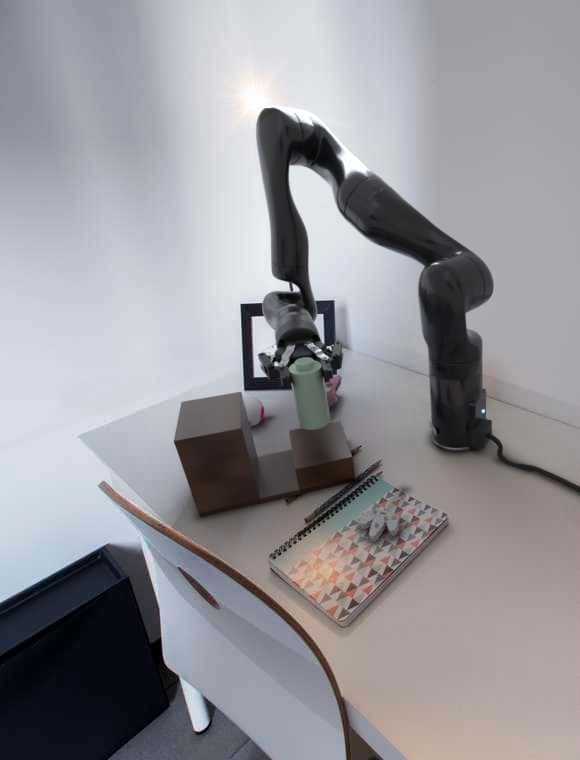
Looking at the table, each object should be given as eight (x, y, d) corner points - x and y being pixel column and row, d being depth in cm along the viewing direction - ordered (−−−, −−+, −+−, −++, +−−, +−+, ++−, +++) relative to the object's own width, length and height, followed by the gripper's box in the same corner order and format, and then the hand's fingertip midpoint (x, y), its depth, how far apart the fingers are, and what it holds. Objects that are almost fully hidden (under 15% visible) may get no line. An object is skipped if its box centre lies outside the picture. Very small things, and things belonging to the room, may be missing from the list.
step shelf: (344, 443, 97) (333, 375, 90) (356, 481, 87) (345, 408, 80) (204, 472, 90) (181, 401, 84) (199, 517, 81) (173, 441, 74)
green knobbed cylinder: (336, 416, 88) (326, 356, 82) (319, 432, 84) (308, 370, 78) (310, 411, 89) (300, 352, 84) (292, 426, 85) (280, 365, 80)
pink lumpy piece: (327, 422, 106) (339, 395, 103) (306, 414, 106) (316, 386, 102) (337, 398, 115) (348, 372, 112) (317, 390, 114) (327, 364, 111)
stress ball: (266, 443, 104) (281, 415, 102) (225, 432, 99) (240, 403, 97) (261, 423, 110) (275, 396, 108) (222, 412, 105) (236, 384, 103)
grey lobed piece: (358, 542, 75) (355, 528, 74) (368, 491, 85) (366, 478, 84) (397, 541, 75) (396, 527, 74) (404, 490, 85) (402, 477, 84)
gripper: (250, 324, 90) (253, 365, 76) (335, 313, 94) (352, 350, 80) (259, 364, 94) (263, 410, 80) (340, 351, 98) (358, 393, 84)
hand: (308, 379), depth 80 cm, fingers closed on green knobbed cylinder, 5 cm apart
